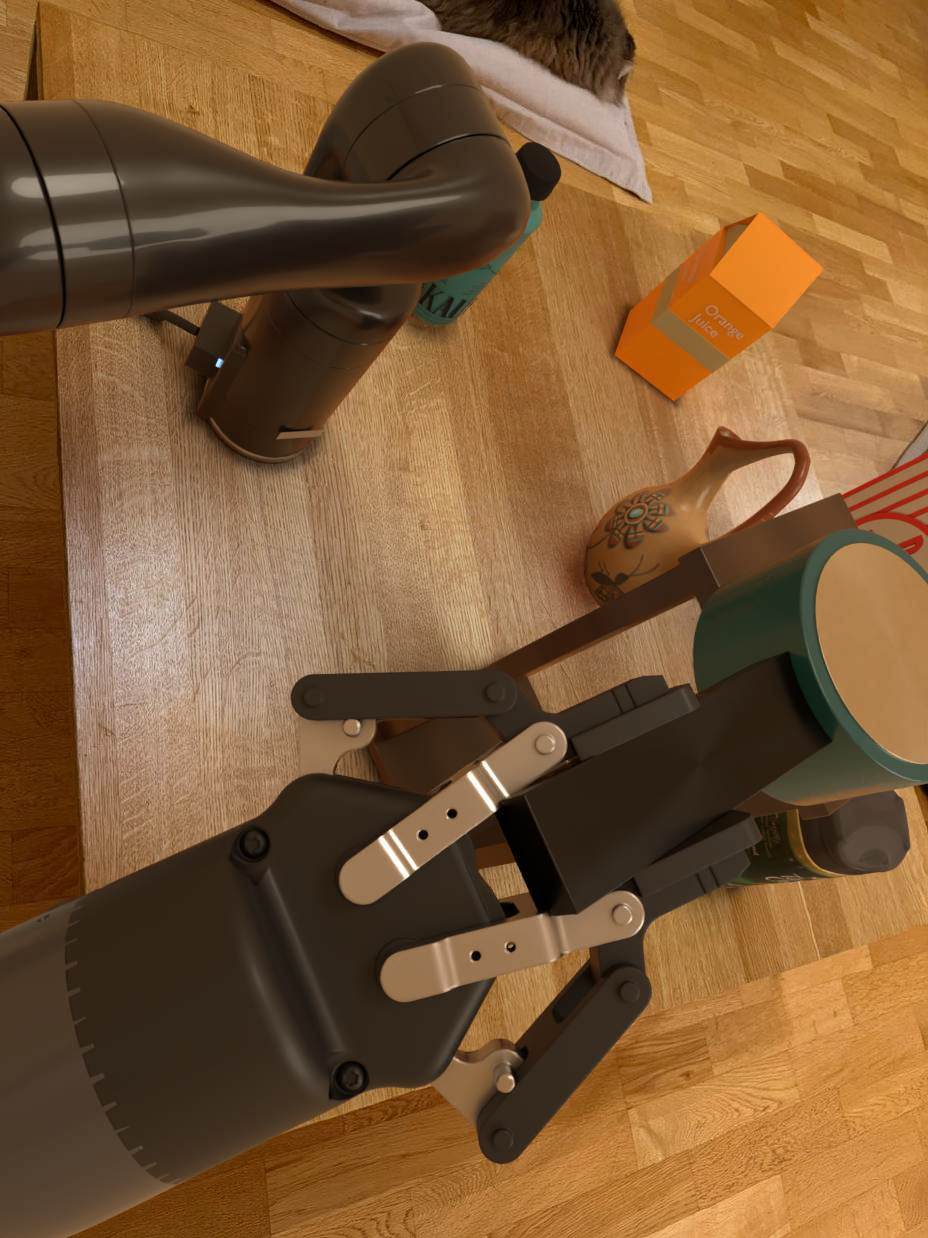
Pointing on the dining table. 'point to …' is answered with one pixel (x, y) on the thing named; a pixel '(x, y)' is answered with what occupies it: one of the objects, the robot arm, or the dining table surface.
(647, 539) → the ceramic vessel
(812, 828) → the coffee jar
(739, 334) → the orange juice
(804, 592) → the milk pan
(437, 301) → the beverage bottle
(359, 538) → the dining table surface
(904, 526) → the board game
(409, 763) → the shelf stand
